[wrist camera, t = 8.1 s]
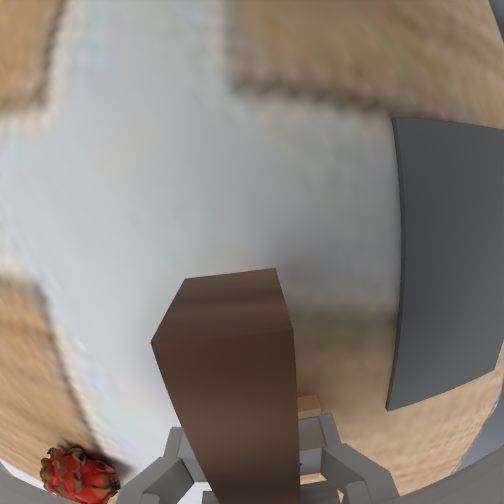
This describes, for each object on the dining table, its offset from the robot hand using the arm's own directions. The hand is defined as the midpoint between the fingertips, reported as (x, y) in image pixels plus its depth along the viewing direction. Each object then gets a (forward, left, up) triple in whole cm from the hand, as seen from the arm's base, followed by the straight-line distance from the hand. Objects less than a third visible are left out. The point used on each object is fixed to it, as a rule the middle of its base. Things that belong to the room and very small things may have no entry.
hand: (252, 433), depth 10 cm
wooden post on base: (+2, 0, -2) cm, 2 cm away
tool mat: (0, +18, -10) cm, 21 cm away
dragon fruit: (+19, -22, -11) cm, 31 cm away
